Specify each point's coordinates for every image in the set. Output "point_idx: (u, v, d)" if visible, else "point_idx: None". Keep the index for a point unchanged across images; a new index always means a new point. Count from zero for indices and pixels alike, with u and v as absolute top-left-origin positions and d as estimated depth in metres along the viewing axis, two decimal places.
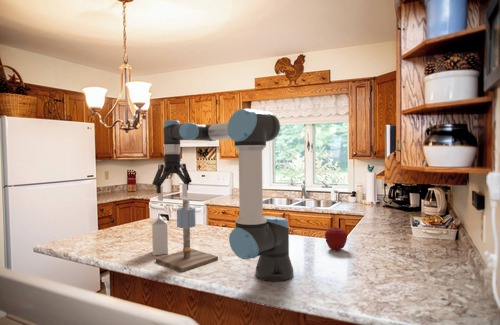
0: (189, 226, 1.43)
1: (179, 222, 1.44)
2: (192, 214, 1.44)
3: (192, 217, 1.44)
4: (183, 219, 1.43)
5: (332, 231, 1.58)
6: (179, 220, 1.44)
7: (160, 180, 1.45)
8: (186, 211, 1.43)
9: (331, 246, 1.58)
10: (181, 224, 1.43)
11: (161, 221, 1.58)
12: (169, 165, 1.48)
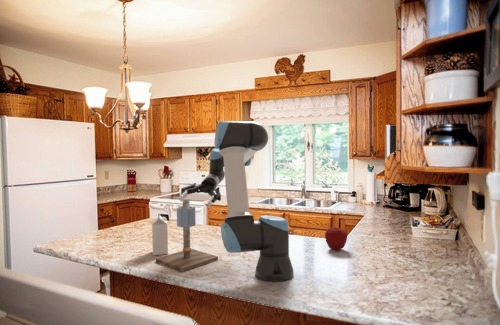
0: (189, 225, 1.43)
1: (179, 221, 1.44)
2: (192, 213, 1.44)
3: (192, 216, 1.44)
4: (183, 218, 1.43)
5: (332, 231, 1.58)
6: (179, 219, 1.44)
7: None
8: (186, 210, 1.43)
9: (331, 246, 1.58)
10: (181, 223, 1.43)
11: (161, 221, 1.58)
12: (202, 185, 1.63)
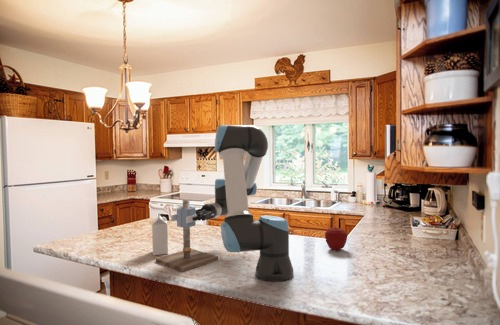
0: (189, 225, 1.43)
1: (179, 221, 1.44)
2: (192, 213, 1.44)
3: None
4: (183, 218, 1.43)
5: (332, 231, 1.58)
6: (179, 219, 1.44)
7: None
8: (186, 210, 1.43)
9: (331, 246, 1.58)
10: (181, 223, 1.43)
11: (161, 221, 1.58)
12: None
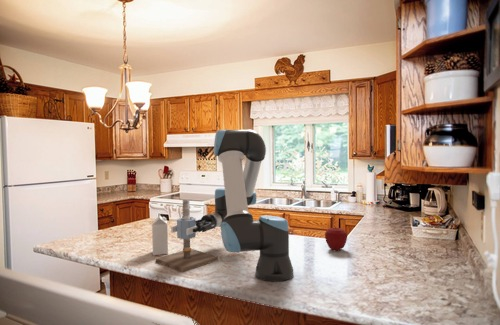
0: (189, 237, 1.43)
1: (179, 233, 1.44)
2: (192, 225, 1.45)
3: None
4: (183, 230, 1.43)
5: (332, 231, 1.58)
6: (179, 231, 1.44)
7: None
8: (186, 222, 1.43)
9: (331, 246, 1.58)
10: (181, 235, 1.43)
11: (161, 221, 1.58)
12: None
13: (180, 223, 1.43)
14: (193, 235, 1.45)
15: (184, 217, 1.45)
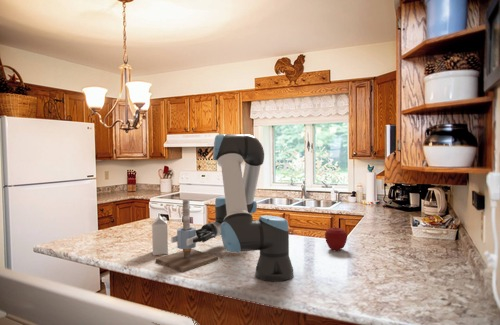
0: (189, 247, 1.43)
1: (179, 243, 1.44)
2: (192, 235, 1.45)
3: None
4: (183, 240, 1.43)
5: (332, 231, 1.58)
6: (179, 241, 1.44)
7: None
8: (186, 232, 1.43)
9: (331, 246, 1.58)
10: (181, 245, 1.43)
11: (161, 221, 1.58)
12: None
13: (180, 233, 1.43)
14: (193, 245, 1.45)
15: (184, 217, 1.45)
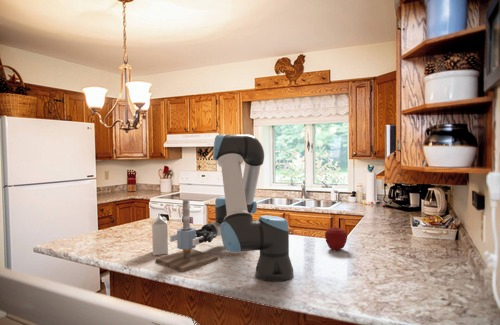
0: (189, 247, 1.43)
1: (179, 243, 1.44)
2: (192, 235, 1.45)
3: (192, 238, 1.45)
4: (183, 241, 1.43)
5: (332, 231, 1.58)
6: (179, 241, 1.44)
7: None
8: (186, 233, 1.43)
9: (331, 246, 1.58)
10: (181, 245, 1.43)
11: (161, 221, 1.58)
12: None
13: (180, 234, 1.43)
14: (193, 246, 1.45)
15: (184, 217, 1.45)
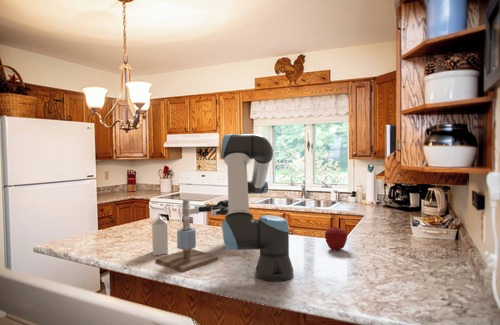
0: (189, 247, 1.43)
1: (179, 243, 1.44)
2: (192, 235, 1.45)
3: (192, 238, 1.45)
4: (183, 241, 1.43)
5: (332, 231, 1.58)
6: (179, 241, 1.44)
7: None
8: (186, 233, 1.43)
9: (331, 246, 1.58)
10: (181, 245, 1.43)
11: (161, 221, 1.58)
12: None
13: (180, 234, 1.43)
14: (193, 246, 1.45)
15: (184, 217, 1.45)
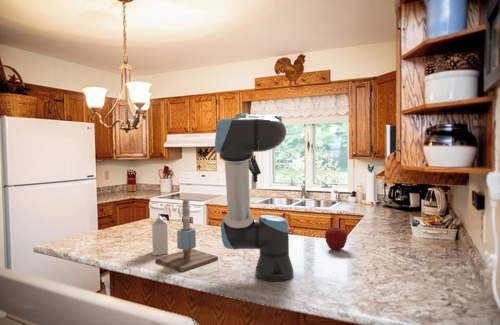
0: (189, 247, 1.43)
1: (179, 243, 1.44)
2: (192, 235, 1.45)
3: (192, 238, 1.45)
4: (183, 241, 1.43)
5: (332, 231, 1.58)
6: (179, 241, 1.44)
7: None
8: (186, 233, 1.43)
9: (331, 246, 1.58)
10: (181, 245, 1.43)
11: (161, 221, 1.58)
12: None
13: (180, 234, 1.43)
14: (193, 246, 1.45)
15: (184, 217, 1.45)
